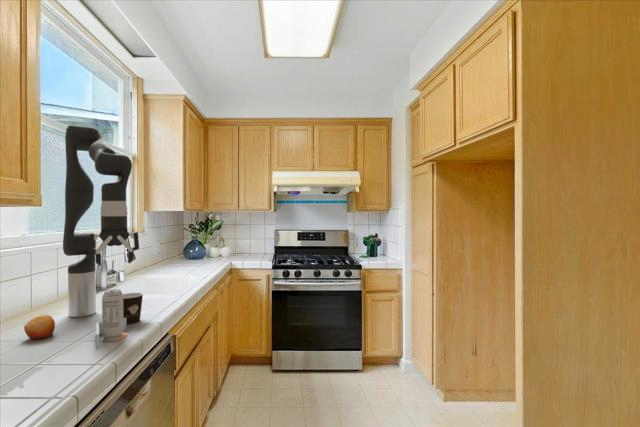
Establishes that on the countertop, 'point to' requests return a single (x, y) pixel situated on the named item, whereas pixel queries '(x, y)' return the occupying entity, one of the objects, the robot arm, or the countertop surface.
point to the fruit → (40, 327)
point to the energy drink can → (112, 314)
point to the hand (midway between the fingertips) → (114, 264)
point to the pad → (117, 338)
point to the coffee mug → (132, 307)
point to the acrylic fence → (99, 330)
